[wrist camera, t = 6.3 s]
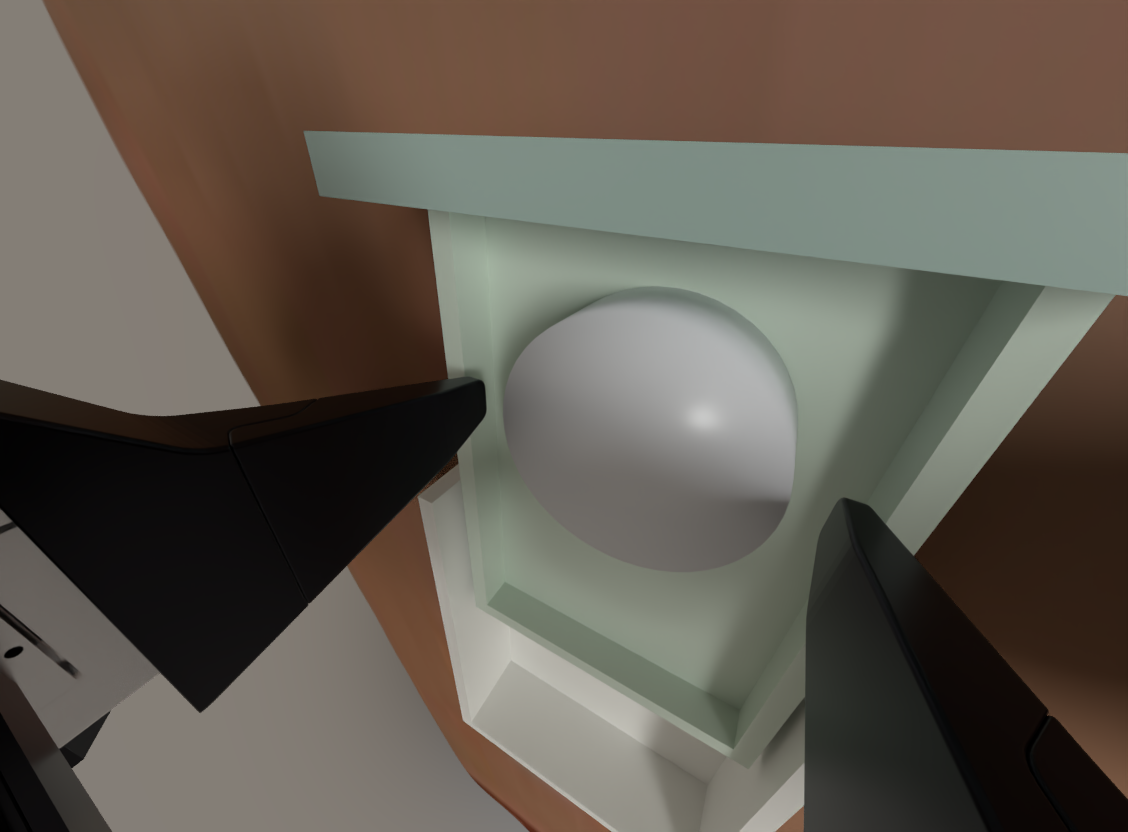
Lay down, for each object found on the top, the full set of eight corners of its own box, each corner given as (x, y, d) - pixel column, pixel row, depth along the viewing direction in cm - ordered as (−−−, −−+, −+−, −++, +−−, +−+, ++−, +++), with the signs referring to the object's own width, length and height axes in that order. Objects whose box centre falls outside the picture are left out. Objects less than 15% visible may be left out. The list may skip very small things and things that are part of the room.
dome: (850, 316, 7) (859, 356, 5) (749, 549, 10) (737, 614, 9) (549, 266, 9) (497, 284, 8) (544, 468, 12) (506, 509, 11)
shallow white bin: (867, 562, 11) (887, 730, 8) (721, 774, 20) (700, 898, 16) (503, 428, 16) (417, 496, 13) (512, 645, 25) (463, 720, 21)
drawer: (1193, 172, 5) (1692, 167, 2) (784, 714, 14) (775, 866, 11) (458, 144, 10) (303, 130, 7) (491, 558, 18) (427, 633, 15)
